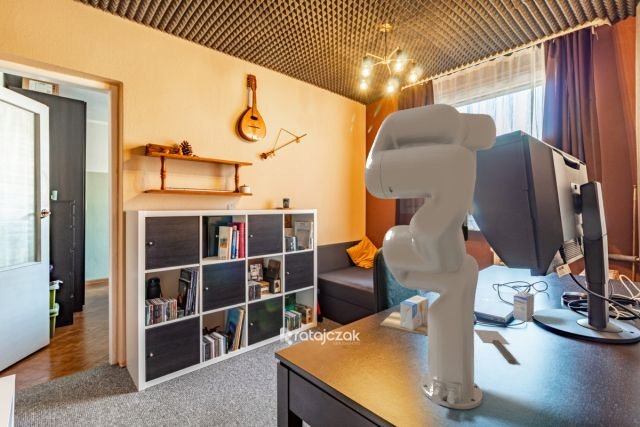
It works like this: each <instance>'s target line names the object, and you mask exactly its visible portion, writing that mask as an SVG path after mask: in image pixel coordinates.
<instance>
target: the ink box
mask: <svg viewBox="0 0 640 427" xmlns="http://www.w3.org/2000/svg"><path fill="white" fill-rule="evenodd" d="M429 304H430V303H429V298H428V297H424V296H422V295H421V294H419V293H418V294H417V295H414V296H412V297H409V298H407V299H405V300H403V301H400V302H399V312H400V326H401V327H404V328H407V329H410V330H414V329H416V328H417V327H419V326H421V325H422V324H424V323H426V322H427V321H428V310H429V307H430V306H429Z"/></svg>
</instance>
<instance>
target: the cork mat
mask: <svg viewBox="0 0 640 427" xmlns="http://www.w3.org/2000/svg"><path fill="white" fill-rule="evenodd" d="M379 326H380V327H384V328H389V329H393V330H398V331H403V332H407V333H413V334H417V335H422V336H427V337H428V321H427V322H426V323H424V324H422V325H421V326H419V327H417V328H416V329H414V330H410V329H407V328H404V327H401V326H400V311H399V312H398V311H393V312H391V314H389V315H388V316H387V317H386V318H385V319H384V320H383V321H382V322H381V323H379Z"/></svg>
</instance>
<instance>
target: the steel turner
mask: <svg viewBox="0 0 640 427" xmlns="http://www.w3.org/2000/svg"><path fill="white" fill-rule="evenodd" d="M474 333H475V334H476V335H477V336H478V337H479V339H480V340H481V342H482V343H488V344H493V345H494V346H495V348H496V349H497V350H498V351H499V353H500V354H501V355H502V357H503V358H504V359H505V360H506V361H507V363H508V364H512V365H513V364H514V365H516V364H517V360H516V359H515V358H514V356H513V355H512V354H511V353H510V351H508V350H507V348H506V347H505V346H504V345H509V342H508V341H507V340H506V339H505V338H504V337H503V335H501V333H500V332H499V331H497V330H486V329H485V330H484V329H474Z"/></svg>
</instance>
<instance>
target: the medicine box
mask: <svg viewBox="0 0 640 427" xmlns="http://www.w3.org/2000/svg"><path fill="white" fill-rule="evenodd" d="M534 304H535V294H534V293H531V292H525V291H524V292H523V291H520V292H518V293H516V294H515V295H513V304H512V305H513V306H512V307H513V310H512V311H513V314H512V316H513V317H514V318H513V317H512V318H513V319H515V320H517V321H518V320H519V321H522V322H528V321H530V320H531V319H532V318H533V317H532V315H533V314H535V312H534V309H535V307H534V306H535V305H534Z"/></svg>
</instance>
